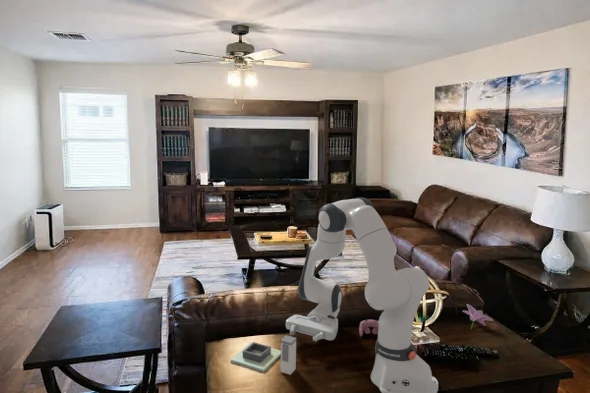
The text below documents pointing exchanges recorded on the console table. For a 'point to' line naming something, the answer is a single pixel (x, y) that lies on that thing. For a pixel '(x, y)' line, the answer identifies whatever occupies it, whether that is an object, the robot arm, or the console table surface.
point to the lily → (476, 315)
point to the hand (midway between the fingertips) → (302, 336)
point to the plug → (288, 355)
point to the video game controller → (366, 324)
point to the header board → (256, 356)
